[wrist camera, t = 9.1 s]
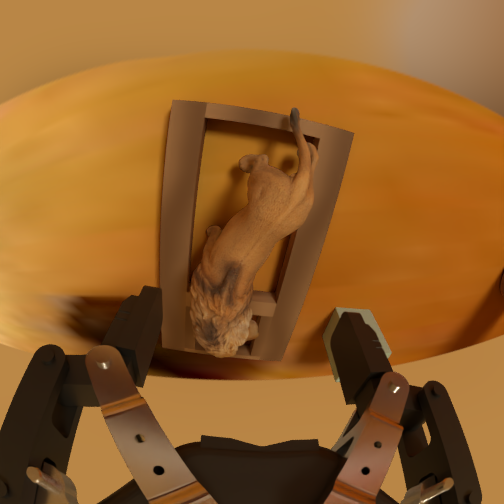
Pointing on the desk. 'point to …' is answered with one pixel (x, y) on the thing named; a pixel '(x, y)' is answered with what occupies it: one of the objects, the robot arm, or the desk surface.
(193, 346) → the board
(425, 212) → the desk surface
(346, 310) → the block
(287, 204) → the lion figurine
